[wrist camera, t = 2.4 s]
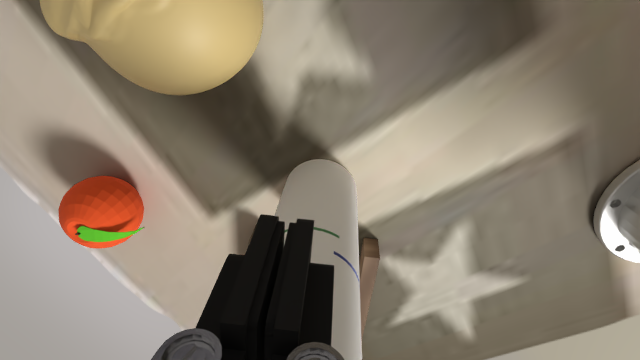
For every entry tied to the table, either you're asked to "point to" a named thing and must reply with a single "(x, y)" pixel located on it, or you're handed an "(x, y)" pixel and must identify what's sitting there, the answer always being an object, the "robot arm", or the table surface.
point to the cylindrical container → (330, 239)
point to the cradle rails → (366, 275)
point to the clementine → (101, 212)
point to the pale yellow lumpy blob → (164, 38)
